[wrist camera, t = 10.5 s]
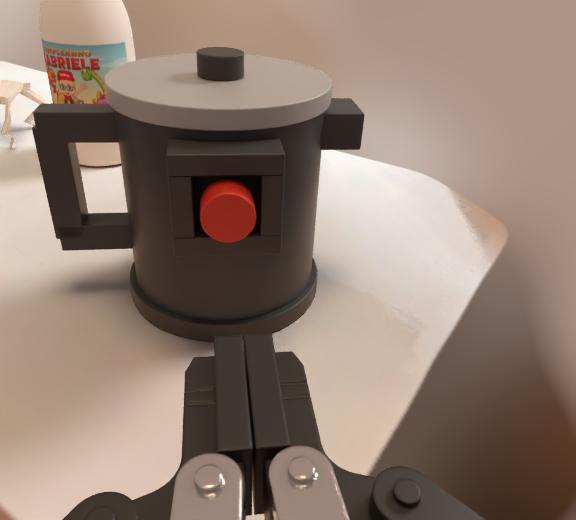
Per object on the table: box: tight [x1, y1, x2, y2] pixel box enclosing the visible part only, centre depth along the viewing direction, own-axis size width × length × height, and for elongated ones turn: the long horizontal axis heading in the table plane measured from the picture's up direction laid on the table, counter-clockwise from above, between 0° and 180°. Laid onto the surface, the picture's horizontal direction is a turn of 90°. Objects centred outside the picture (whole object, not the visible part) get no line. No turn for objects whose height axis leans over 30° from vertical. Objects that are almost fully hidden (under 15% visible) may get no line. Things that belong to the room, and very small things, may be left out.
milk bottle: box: [40, 0, 136, 166], centre depth 46 cm, size 8×8×20 cm
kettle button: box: [200, 179, 256, 242], centre depth 23 cm, size 2×2×2 cm
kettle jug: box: [32, 47, 364, 341], centre depth 30 cm, size 13×17×14 cm
